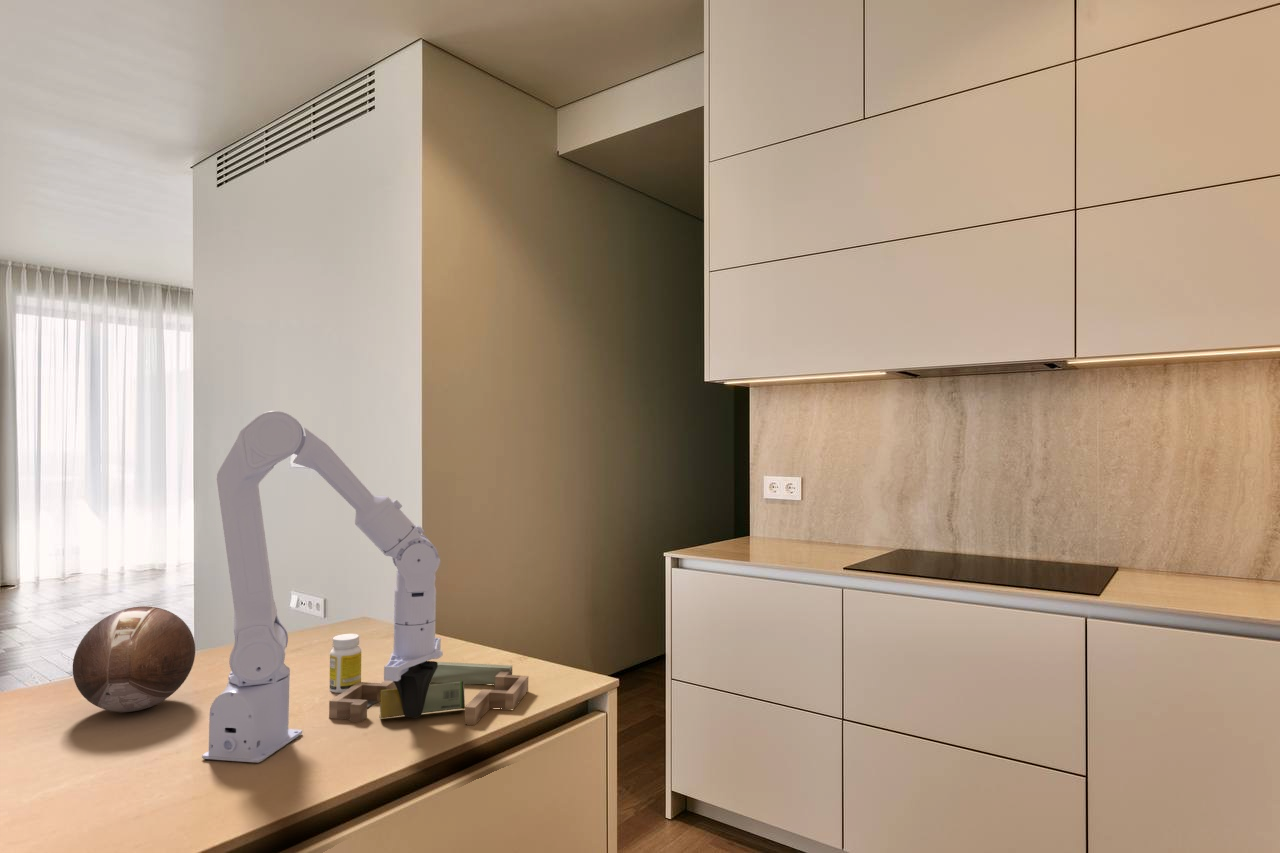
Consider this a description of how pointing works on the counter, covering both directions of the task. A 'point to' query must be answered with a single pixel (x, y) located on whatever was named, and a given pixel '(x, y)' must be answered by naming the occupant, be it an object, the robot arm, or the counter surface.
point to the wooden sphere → (133, 659)
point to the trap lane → (504, 695)
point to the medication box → (436, 699)
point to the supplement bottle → (345, 662)
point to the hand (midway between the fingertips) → (413, 715)
